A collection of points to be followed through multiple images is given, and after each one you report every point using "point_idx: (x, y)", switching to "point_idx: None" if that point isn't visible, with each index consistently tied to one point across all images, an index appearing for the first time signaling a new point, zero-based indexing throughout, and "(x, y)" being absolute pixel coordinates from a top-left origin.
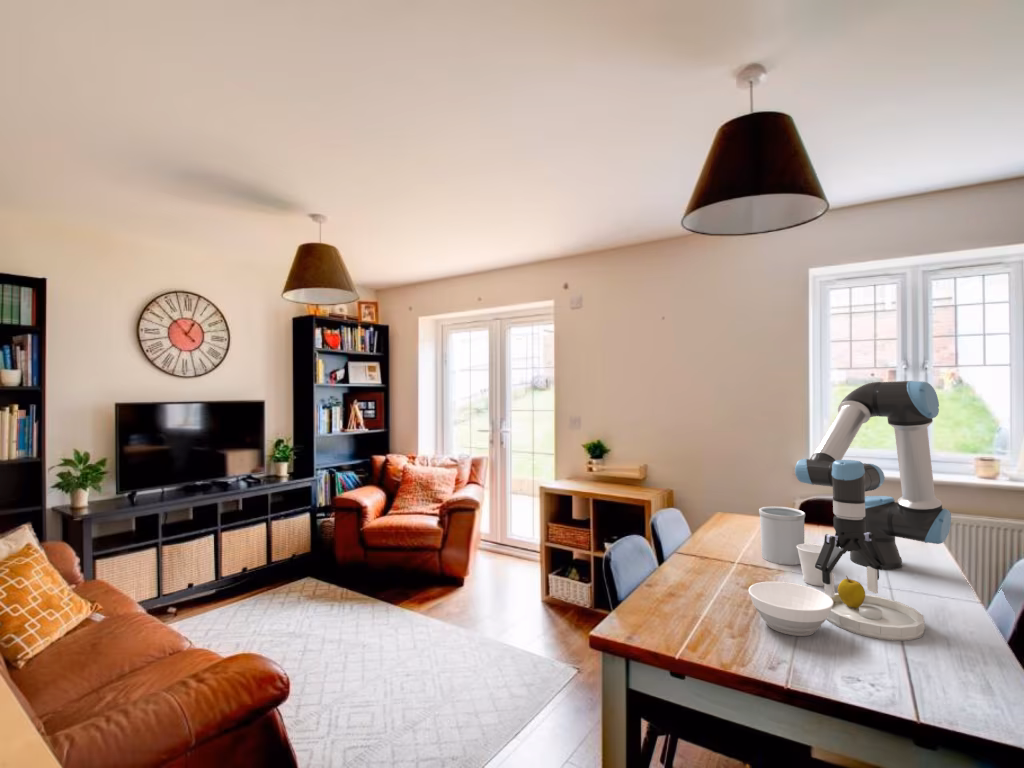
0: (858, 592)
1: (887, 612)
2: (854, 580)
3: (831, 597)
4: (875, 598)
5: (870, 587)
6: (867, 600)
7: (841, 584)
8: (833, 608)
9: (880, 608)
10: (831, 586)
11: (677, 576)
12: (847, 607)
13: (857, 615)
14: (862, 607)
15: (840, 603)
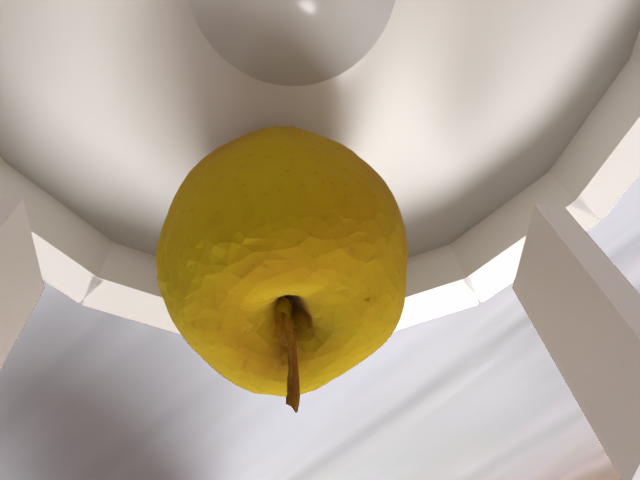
0: (316, 164)
1: (48, 5)
2: (216, 346)
3: None
4: None
5: (21, 279)
6: (78, 231)
7: (396, 321)
8: (463, 186)
9: (51, 100)
10: (612, 274)
11: None
12: None
13: (398, 16)
14: (333, 43)
15: None
